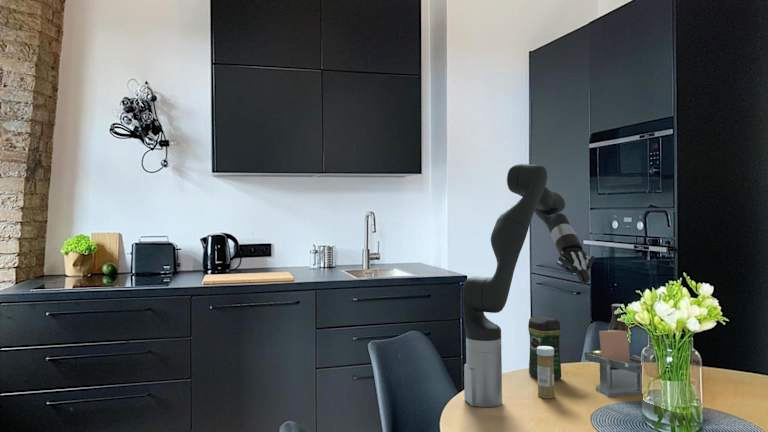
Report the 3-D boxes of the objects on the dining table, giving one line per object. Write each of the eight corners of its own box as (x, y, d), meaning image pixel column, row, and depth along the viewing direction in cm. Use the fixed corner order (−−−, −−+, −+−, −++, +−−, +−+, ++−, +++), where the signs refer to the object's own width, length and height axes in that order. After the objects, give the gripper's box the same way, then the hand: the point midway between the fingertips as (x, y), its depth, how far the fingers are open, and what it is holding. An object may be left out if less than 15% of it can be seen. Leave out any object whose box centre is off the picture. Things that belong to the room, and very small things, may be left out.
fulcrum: (607, 396, 152) (607, 361, 152) (595, 390, 158) (595, 356, 158) (647, 394, 155) (647, 359, 155) (634, 387, 160) (634, 354, 160)
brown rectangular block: (613, 361, 156) (610, 332, 157) (601, 359, 162) (599, 331, 163) (629, 360, 157) (627, 331, 158) (617, 358, 162) (614, 330, 164)
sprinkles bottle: (558, 397, 153) (557, 347, 153) (546, 400, 150) (546, 349, 151) (545, 392, 157) (544, 344, 157) (533, 395, 154) (533, 346, 154)
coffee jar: (566, 380, 169) (565, 318, 169) (544, 383, 166) (543, 320, 166) (545, 372, 178) (544, 313, 178) (524, 374, 175) (523, 315, 175)
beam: (636, 374, 143) (635, 364, 143) (583, 360, 168) (582, 352, 169) (665, 372, 144) (664, 362, 145) (608, 358, 170) (608, 350, 170)
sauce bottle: (611, 361, 189) (611, 302, 189) (631, 364, 186) (630, 304, 186) (606, 365, 184) (605, 305, 184) (627, 368, 180) (626, 306, 180)
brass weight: (598, 358, 164) (598, 352, 164) (590, 356, 168) (590, 350, 168) (612, 357, 165) (611, 351, 165) (603, 355, 169) (603, 350, 169)
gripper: (551, 233, 182) (570, 274, 170) (588, 232, 185) (610, 273, 173) (543, 248, 188) (562, 290, 176) (580, 247, 190) (601, 288, 178)
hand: (586, 281), depth 174 cm, fingers closed
